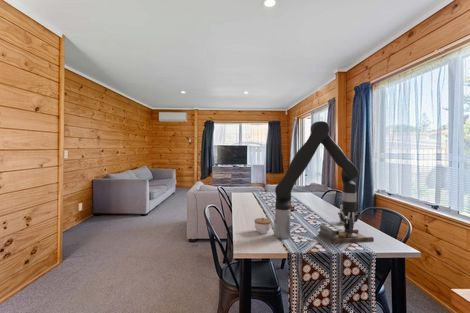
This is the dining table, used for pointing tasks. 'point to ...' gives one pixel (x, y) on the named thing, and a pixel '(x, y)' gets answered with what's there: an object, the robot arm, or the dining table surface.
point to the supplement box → (343, 214)
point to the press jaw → (350, 230)
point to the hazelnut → (342, 234)
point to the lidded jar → (262, 225)
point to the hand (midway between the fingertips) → (348, 228)
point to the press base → (334, 238)
